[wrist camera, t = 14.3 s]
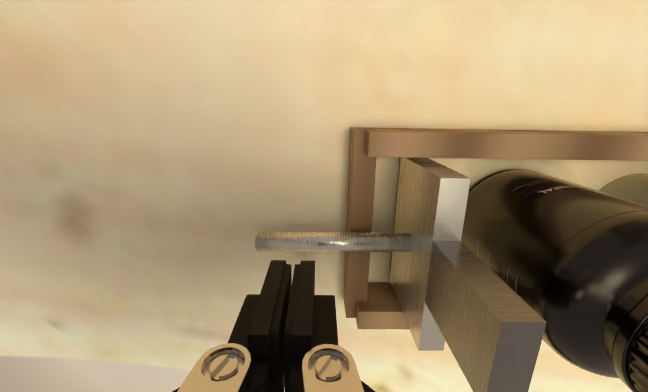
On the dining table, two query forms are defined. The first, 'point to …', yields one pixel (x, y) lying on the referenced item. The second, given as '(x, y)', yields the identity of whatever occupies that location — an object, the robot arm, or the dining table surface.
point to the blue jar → (630, 188)
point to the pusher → (442, 279)
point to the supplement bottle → (570, 265)
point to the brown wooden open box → (368, 143)
